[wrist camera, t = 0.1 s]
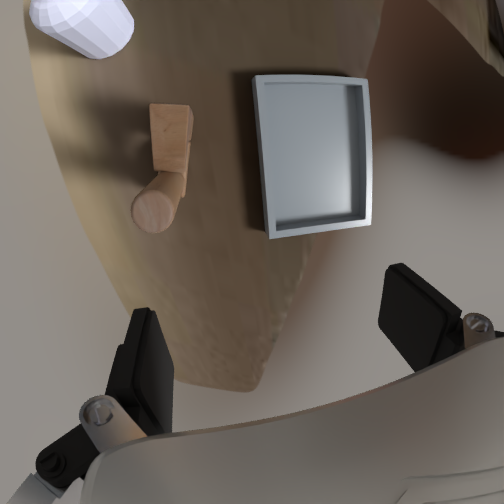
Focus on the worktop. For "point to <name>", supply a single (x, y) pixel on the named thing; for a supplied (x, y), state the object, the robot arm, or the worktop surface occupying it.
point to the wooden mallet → (165, 167)
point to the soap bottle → (85, 24)
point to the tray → (313, 152)
